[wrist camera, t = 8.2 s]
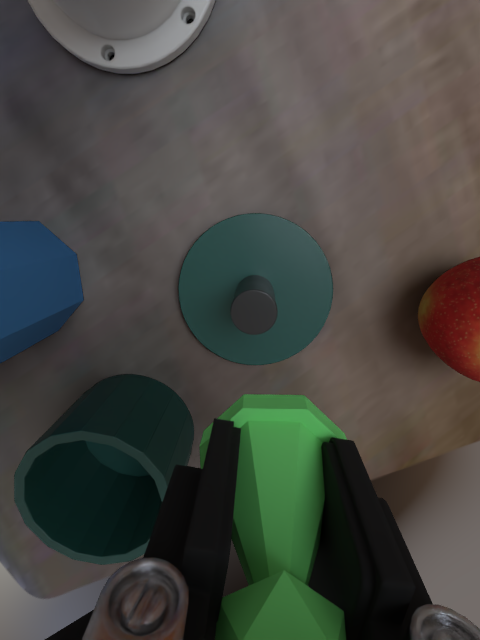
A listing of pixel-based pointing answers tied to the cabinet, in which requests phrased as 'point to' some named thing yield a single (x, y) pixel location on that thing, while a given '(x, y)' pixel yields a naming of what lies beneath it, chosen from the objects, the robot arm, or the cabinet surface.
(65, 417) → the tin
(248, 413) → the game piece
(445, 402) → the cabinet surface
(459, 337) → the apple
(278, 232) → the lid
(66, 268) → the water bottle
